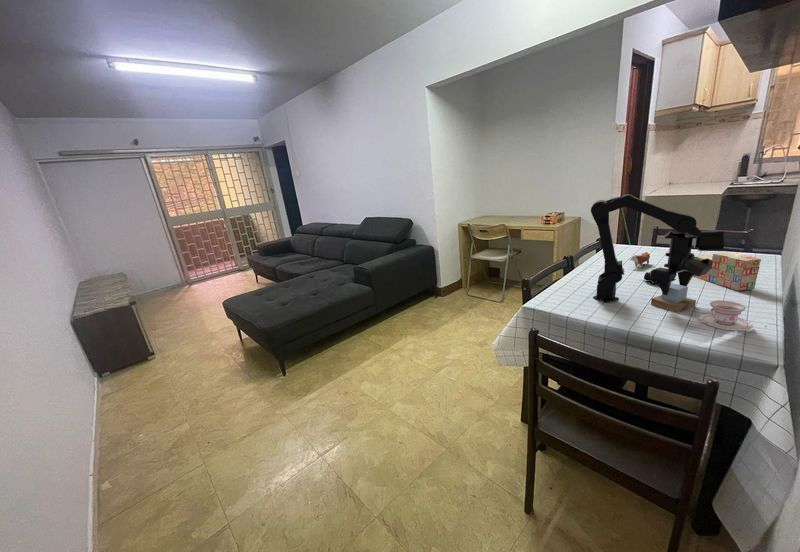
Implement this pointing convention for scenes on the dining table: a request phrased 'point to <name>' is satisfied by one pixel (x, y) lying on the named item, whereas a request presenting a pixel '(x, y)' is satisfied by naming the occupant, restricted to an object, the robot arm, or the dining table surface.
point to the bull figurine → (640, 258)
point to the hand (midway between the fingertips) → (674, 292)
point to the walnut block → (673, 304)
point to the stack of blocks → (731, 270)
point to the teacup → (726, 316)
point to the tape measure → (649, 277)
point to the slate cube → (676, 293)
